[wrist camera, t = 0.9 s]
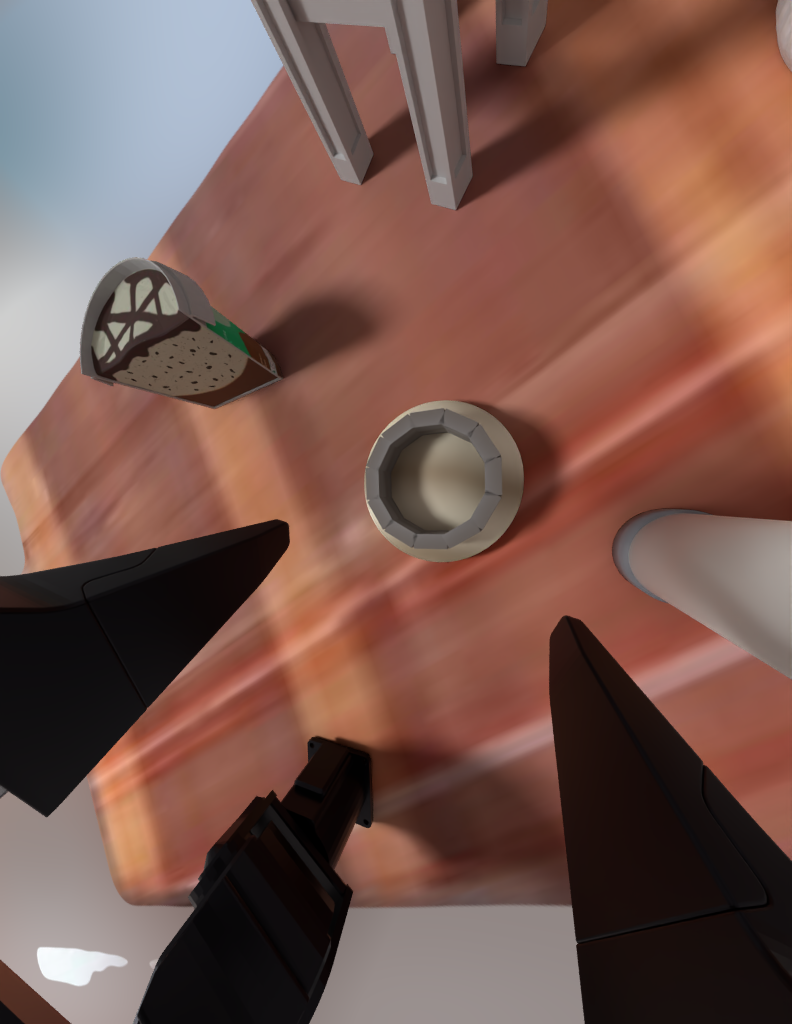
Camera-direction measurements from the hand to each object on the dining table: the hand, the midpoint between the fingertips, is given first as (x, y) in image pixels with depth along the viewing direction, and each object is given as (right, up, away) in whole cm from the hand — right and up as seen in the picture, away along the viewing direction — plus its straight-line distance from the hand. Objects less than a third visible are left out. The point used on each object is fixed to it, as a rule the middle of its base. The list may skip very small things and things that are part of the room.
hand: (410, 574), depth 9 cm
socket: (+3, +4, +13) cm, 14 cm away
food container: (-16, +17, +20) cm, 31 cm away
